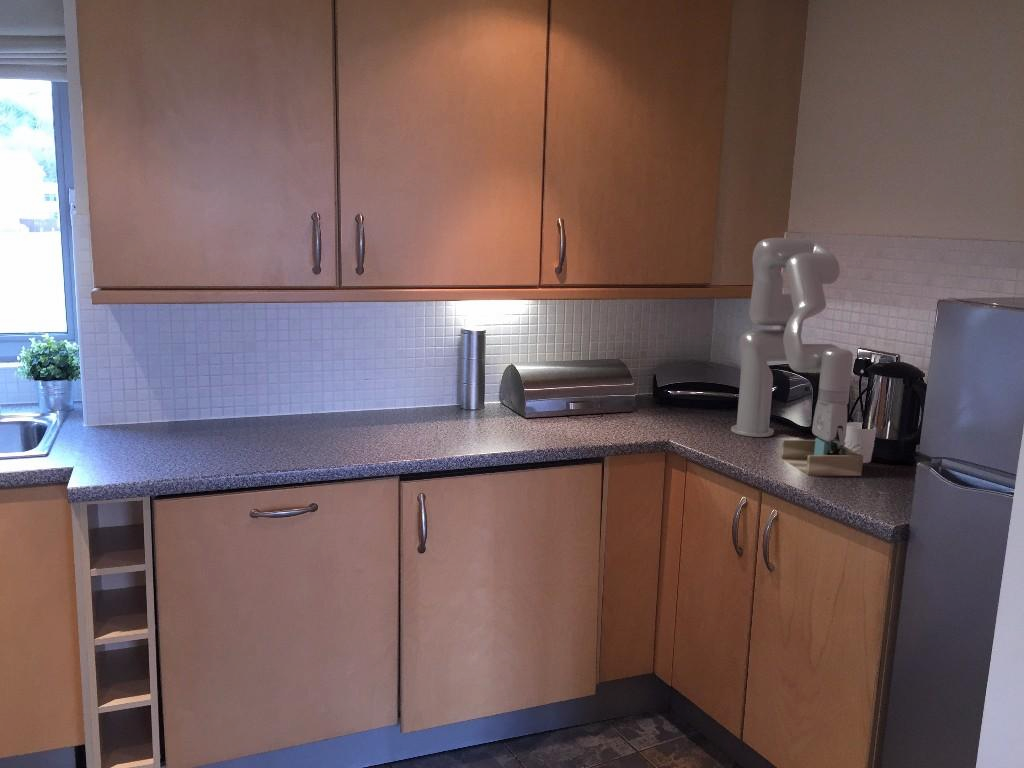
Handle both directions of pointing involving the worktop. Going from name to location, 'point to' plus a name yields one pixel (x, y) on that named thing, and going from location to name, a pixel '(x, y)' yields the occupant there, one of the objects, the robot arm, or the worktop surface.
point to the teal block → (822, 447)
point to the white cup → (860, 440)
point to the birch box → (820, 459)
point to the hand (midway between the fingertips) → (826, 463)
